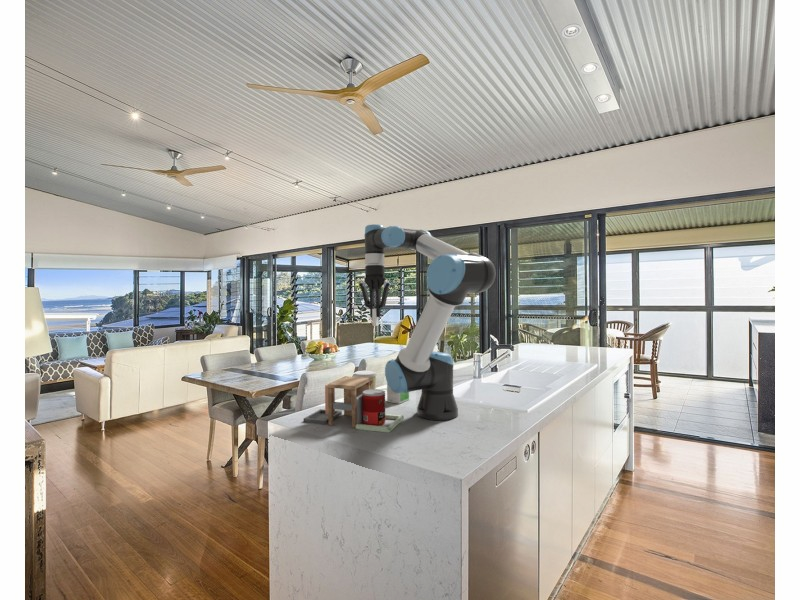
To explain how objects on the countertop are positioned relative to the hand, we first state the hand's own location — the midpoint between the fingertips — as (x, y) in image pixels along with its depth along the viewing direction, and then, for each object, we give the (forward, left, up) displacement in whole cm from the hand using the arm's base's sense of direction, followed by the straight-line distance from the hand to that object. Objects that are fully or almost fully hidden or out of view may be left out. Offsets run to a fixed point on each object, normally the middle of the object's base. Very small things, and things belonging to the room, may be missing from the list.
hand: (375, 325), depth 163 cm
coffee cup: (+8, -8, -33) cm, 35 cm away
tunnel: (+3, +18, -32) cm, 37 cm away
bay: (-8, +18, -32) cm, 38 cm away
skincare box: (-5, -12, -33) cm, 35 cm away
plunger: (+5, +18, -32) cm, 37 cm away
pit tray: (+14, +18, -32) cm, 40 cm away
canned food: (-6, +18, -33) cm, 38 cm away
